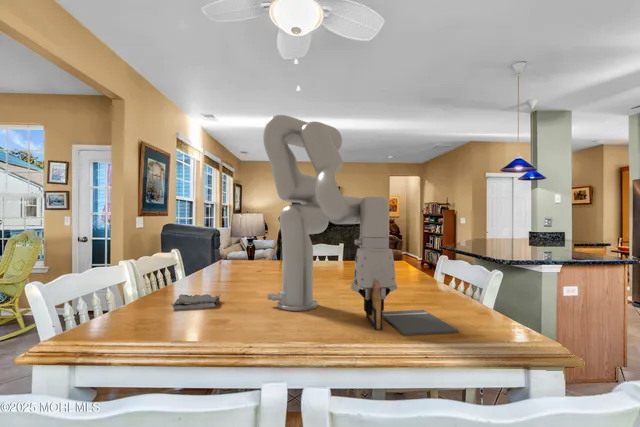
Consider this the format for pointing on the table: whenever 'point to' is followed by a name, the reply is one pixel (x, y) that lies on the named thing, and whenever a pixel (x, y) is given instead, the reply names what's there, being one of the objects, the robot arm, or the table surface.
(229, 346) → the table surface
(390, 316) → the mat
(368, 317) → the ammunition clip
